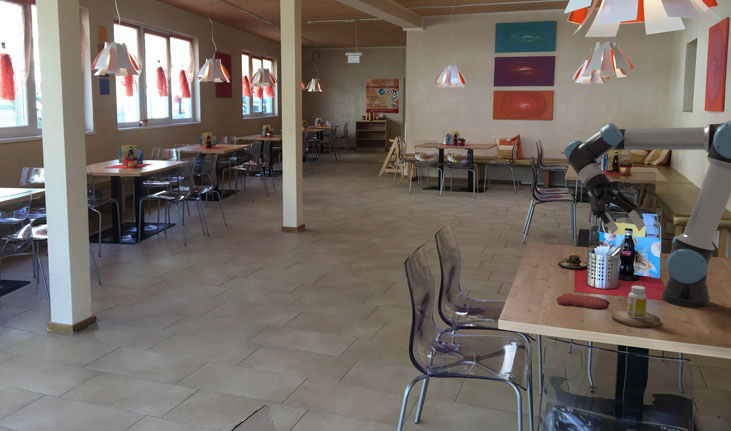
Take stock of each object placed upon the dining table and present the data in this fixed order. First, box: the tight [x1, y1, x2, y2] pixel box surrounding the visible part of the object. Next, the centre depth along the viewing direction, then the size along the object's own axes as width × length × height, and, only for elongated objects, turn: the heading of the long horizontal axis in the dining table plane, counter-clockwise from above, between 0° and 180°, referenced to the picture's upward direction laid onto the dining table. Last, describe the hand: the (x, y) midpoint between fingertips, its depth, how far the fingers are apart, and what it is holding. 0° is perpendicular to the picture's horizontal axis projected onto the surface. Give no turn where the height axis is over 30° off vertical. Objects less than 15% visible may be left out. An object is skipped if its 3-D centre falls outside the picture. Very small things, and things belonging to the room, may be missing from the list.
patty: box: [556, 293, 610, 311], centre depth 216 cm, size 18×14×2 cm
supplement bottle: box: [626, 285, 648, 319], centre depth 196 cm, size 5×5×10 cm
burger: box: [557, 250, 588, 270], centre depth 268 cm, size 12×12×8 cm
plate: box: [611, 309, 661, 329], centre depth 197 cm, size 14×14×1 cm
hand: (628, 229), depth 203 cm, fingers open, 13 cm apart
